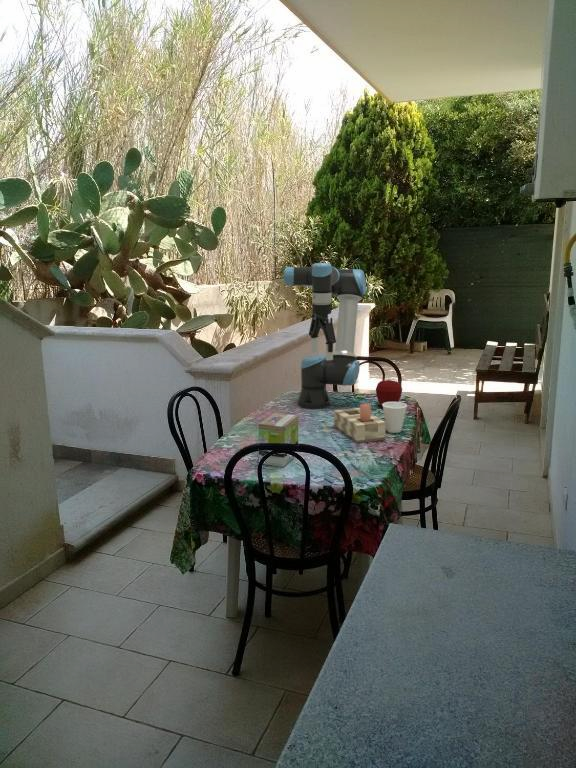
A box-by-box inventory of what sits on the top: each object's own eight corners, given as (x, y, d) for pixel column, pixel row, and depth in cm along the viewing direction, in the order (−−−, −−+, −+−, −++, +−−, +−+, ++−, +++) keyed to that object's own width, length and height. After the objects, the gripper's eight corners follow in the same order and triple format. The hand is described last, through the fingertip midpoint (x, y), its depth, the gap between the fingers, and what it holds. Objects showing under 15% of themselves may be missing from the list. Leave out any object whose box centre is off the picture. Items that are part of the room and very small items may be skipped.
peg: (358, 433, 231) (358, 404, 228) (368, 432, 232) (368, 403, 229) (362, 436, 227) (362, 406, 224) (372, 435, 228) (372, 405, 225)
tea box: (285, 467, 199) (285, 426, 196) (258, 464, 202) (257, 423, 199) (299, 453, 213) (298, 414, 210) (273, 450, 216) (272, 411, 213)
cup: (378, 433, 234) (379, 406, 232) (384, 426, 243) (385, 400, 241) (403, 436, 231) (404, 409, 228) (408, 428, 240) (409, 402, 237)
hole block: (333, 426, 243) (333, 410, 242) (359, 423, 247) (360, 407, 245) (357, 443, 223) (357, 425, 221) (385, 439, 227) (385, 422, 225)
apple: (374, 409, 268) (375, 381, 265) (376, 402, 279) (377, 375, 276) (401, 411, 265) (402, 382, 262) (402, 404, 276) (403, 376, 273)
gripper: (300, 300, 239) (301, 352, 244) (327, 307, 216) (326, 363, 221) (317, 299, 241) (317, 350, 247) (345, 306, 219) (344, 361, 224)
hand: (321, 356), depth 234 cm, fingers open, 13 cm apart
